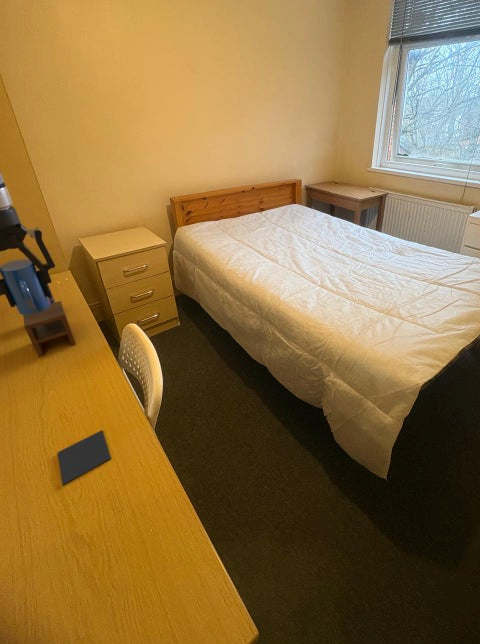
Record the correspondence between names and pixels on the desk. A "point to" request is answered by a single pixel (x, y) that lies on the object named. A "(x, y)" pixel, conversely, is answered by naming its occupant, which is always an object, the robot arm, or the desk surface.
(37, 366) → the desk surface
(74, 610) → the desk surface
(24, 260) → the blue oval cylinder
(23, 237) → the robot arm
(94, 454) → the mat
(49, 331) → the shelf
